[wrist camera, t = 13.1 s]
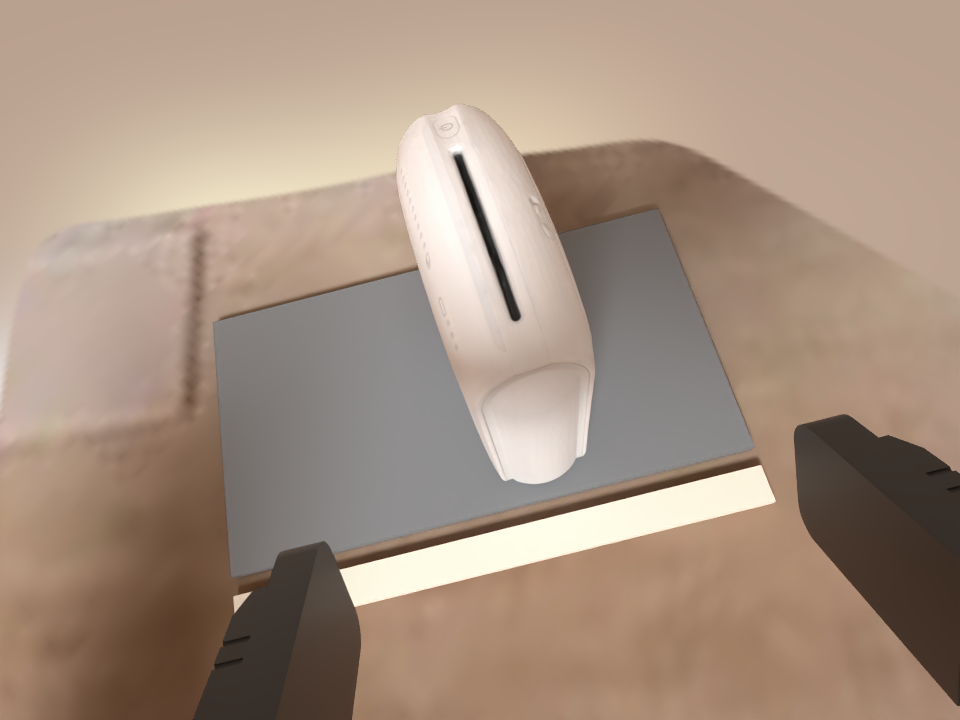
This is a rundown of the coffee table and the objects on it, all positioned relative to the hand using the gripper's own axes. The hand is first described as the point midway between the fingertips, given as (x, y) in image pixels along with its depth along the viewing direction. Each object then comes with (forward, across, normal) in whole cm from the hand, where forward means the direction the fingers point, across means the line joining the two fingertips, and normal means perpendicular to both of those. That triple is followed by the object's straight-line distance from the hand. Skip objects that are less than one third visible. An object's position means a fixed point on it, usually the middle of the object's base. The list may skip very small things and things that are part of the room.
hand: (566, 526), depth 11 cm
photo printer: (+18, 0, +5) cm, 18 cm away
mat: (+17, +2, +6) cm, 18 cm away
